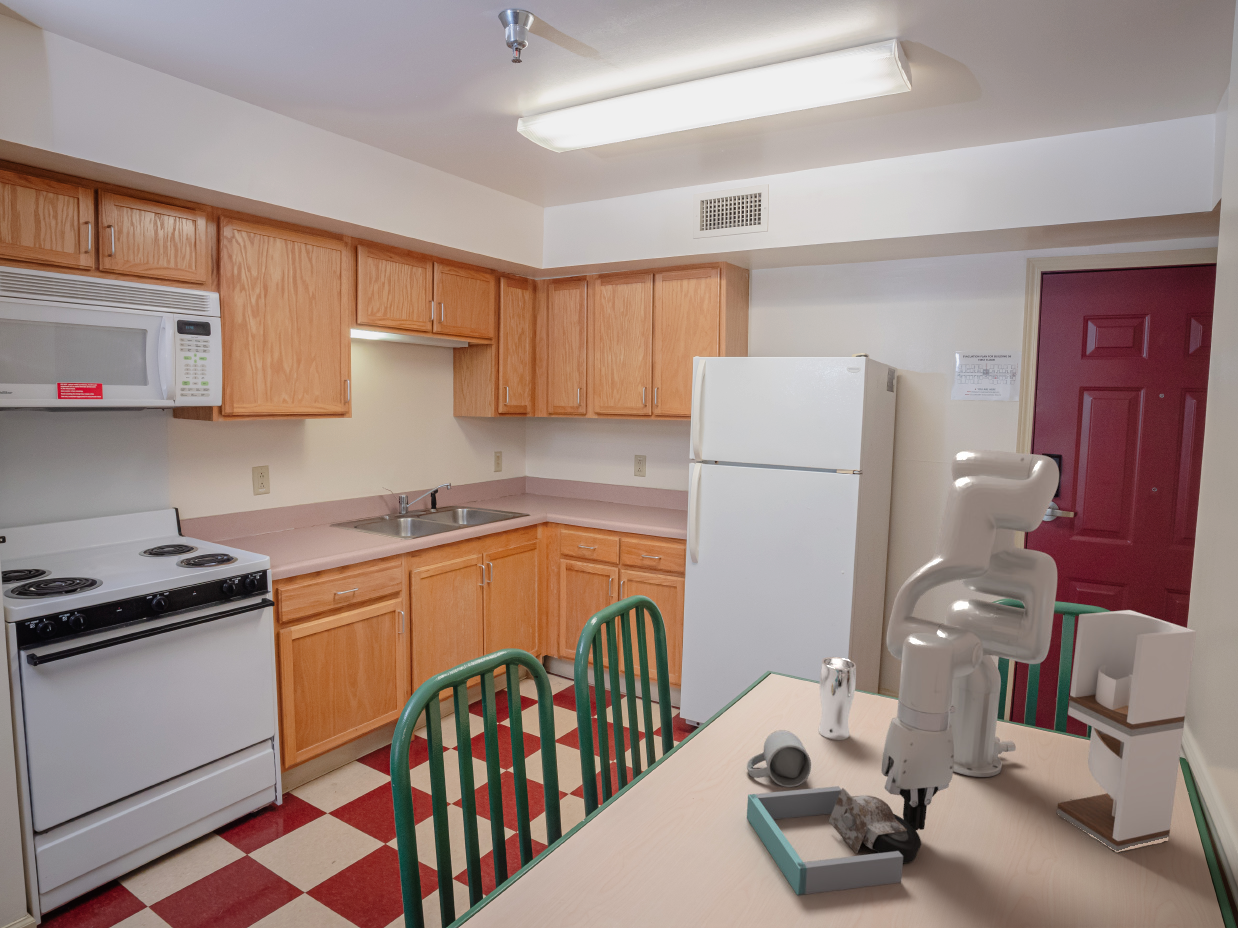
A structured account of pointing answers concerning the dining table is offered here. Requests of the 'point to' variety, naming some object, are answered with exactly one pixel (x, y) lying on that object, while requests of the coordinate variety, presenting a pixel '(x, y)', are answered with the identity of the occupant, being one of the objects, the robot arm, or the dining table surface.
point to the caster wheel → (873, 826)
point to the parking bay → (818, 872)
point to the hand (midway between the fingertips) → (913, 824)
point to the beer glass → (836, 696)
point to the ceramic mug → (782, 760)
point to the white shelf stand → (1130, 722)
